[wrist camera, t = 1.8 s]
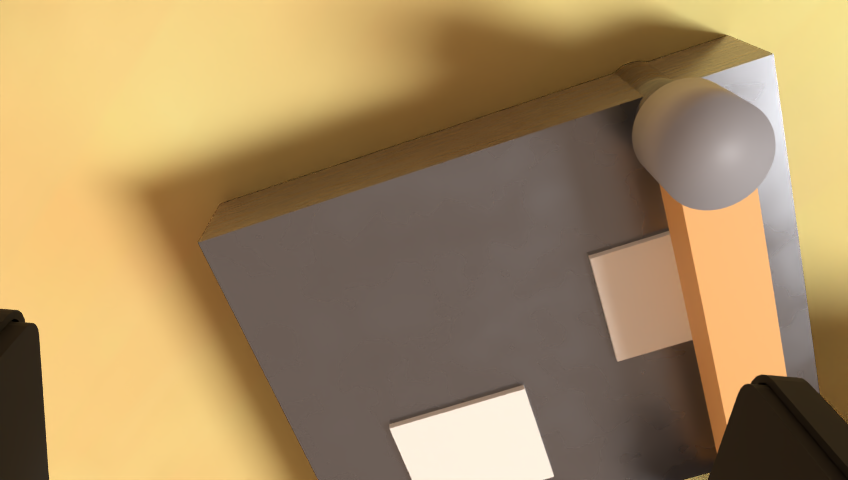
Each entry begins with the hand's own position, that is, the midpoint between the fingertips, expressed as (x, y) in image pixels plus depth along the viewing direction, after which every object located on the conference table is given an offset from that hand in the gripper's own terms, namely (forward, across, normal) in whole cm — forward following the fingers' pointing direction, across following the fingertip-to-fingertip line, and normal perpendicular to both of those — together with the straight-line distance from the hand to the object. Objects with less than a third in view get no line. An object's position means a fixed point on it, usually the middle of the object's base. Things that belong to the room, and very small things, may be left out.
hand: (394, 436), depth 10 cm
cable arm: (+16, -14, +6) cm, 22 cm away
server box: (+22, -8, +9) cm, 25 cm away
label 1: (+19, -6, +14) cm, 24 cm away
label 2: (+18, -12, +5) cm, 23 cm away
